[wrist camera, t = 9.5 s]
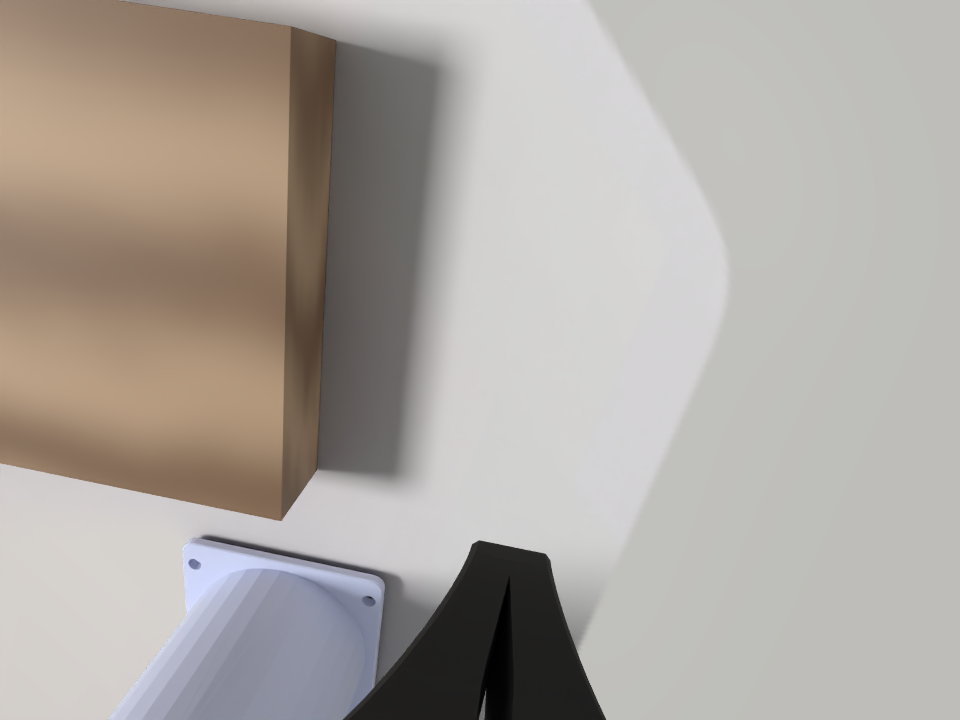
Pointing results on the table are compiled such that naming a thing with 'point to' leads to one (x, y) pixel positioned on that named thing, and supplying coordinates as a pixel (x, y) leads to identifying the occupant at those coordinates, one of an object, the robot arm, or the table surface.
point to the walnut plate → (163, 249)
